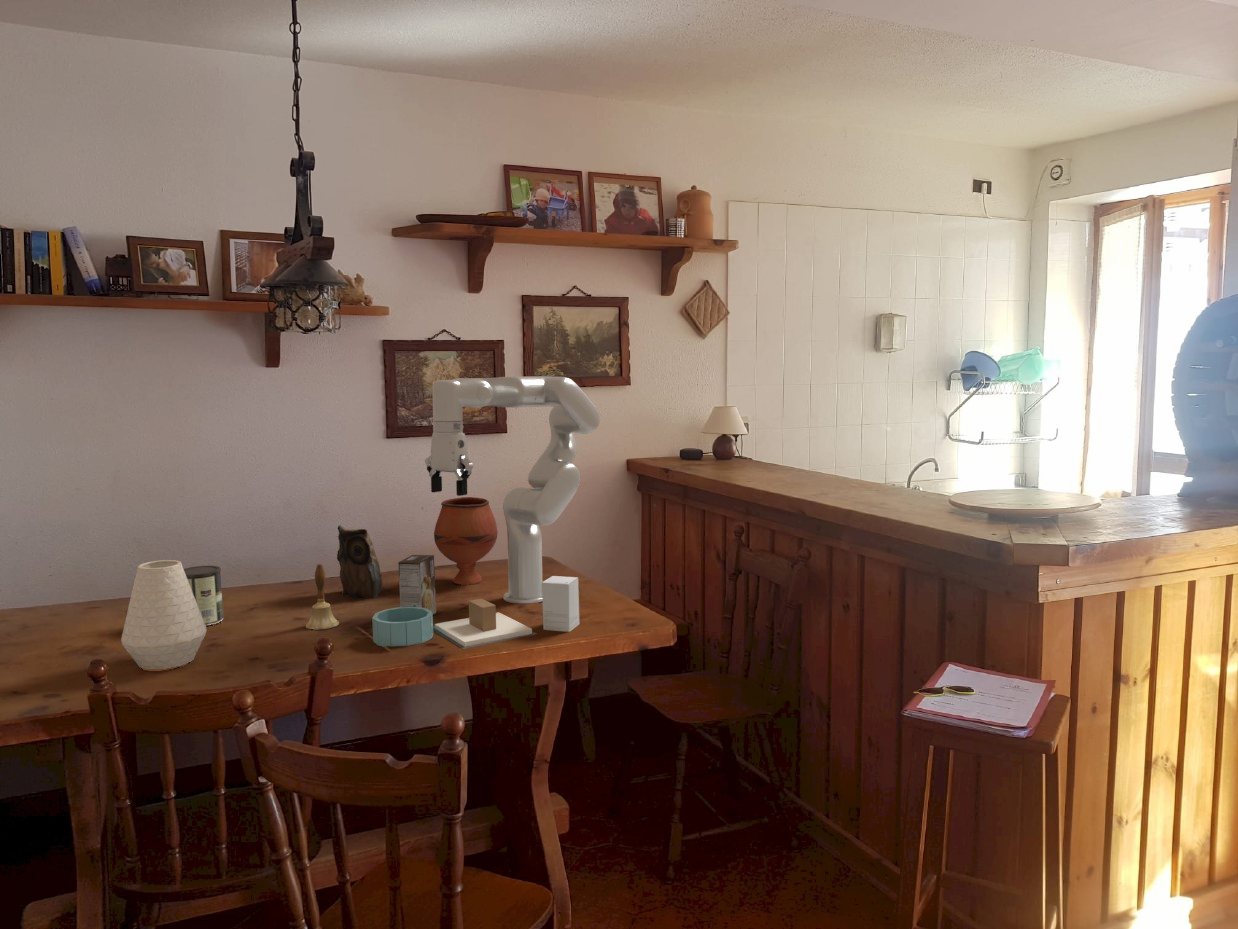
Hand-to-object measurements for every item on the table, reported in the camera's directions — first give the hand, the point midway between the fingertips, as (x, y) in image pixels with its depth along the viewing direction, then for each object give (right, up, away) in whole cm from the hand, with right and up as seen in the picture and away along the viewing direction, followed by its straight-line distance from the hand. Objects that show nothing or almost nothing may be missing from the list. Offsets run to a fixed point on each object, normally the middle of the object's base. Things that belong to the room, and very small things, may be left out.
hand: (449, 493), depth 245 cm
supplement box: (+30, -34, -6) cm, 46 cm away
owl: (-30, -30, +30) cm, 52 cm away
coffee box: (-9, -33, +4) cm, 35 cm away
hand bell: (-32, -34, -2) cm, 47 cm away
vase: (-59, -38, -30) cm, 76 cm away
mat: (+10, -35, -10) cm, 37 cm away
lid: (+10, -34, -10) cm, 37 cm away
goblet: (-2, -28, +42) cm, 51 cm away
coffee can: (-65, -34, +1) cm, 73 cm away
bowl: (-9, -35, -14) cm, 39 cm away
